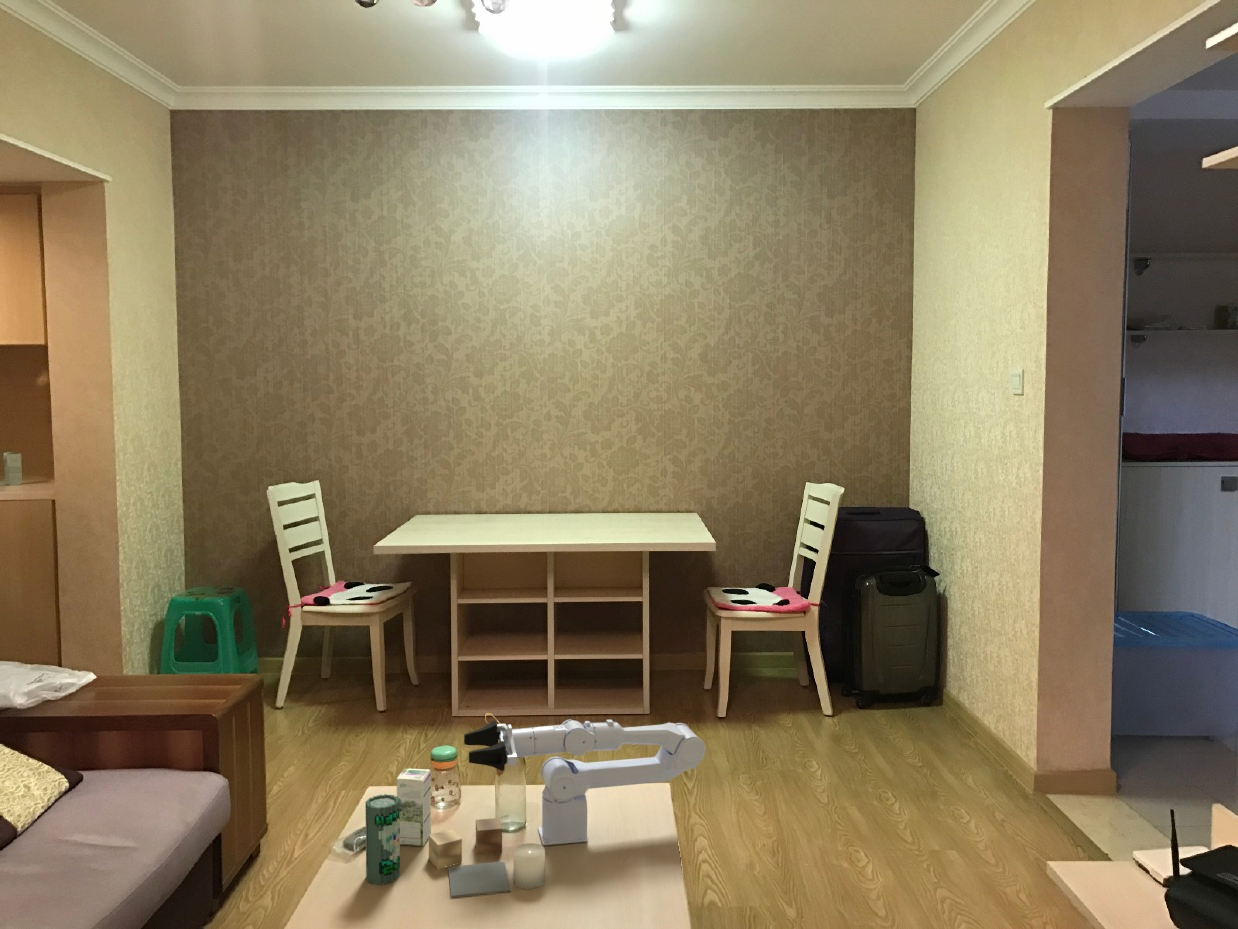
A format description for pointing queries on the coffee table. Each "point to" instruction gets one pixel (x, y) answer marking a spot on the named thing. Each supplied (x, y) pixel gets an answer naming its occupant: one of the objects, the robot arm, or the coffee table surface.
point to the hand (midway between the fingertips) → (466, 748)
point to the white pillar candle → (529, 865)
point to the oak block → (445, 848)
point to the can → (382, 839)
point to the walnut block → (488, 835)
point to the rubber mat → (478, 879)
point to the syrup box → (414, 806)
